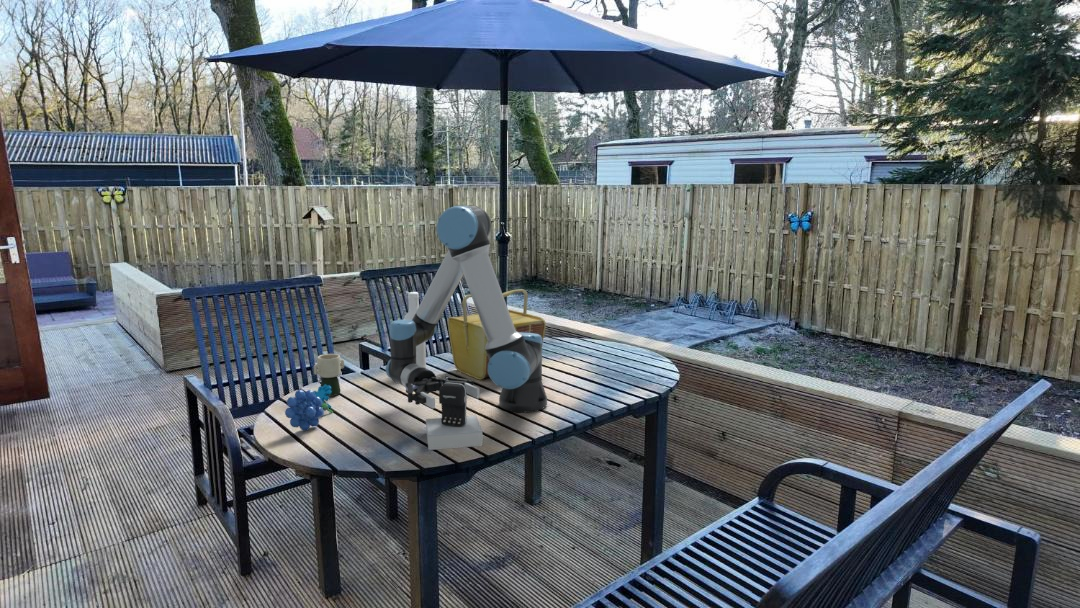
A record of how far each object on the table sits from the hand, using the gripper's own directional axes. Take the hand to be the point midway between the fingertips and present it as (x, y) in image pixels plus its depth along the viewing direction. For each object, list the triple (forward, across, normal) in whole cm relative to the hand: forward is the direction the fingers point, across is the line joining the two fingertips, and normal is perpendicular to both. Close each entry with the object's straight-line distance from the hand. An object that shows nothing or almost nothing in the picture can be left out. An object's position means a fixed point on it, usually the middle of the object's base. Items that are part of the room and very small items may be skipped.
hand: (456, 398), depth 165 cm
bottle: (-66, -22, -12) cm, 70 cm away
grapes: (-31, +29, -12) cm, 45 cm away
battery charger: (-2, 0, -8) cm, 8 cm away
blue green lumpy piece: (-46, +21, -12) cm, 52 cm away
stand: (-2, 0, -12) cm, 12 cm away
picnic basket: (-51, -48, -12) cm, 71 cm away
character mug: (-59, +13, -12) cm, 62 cm away
